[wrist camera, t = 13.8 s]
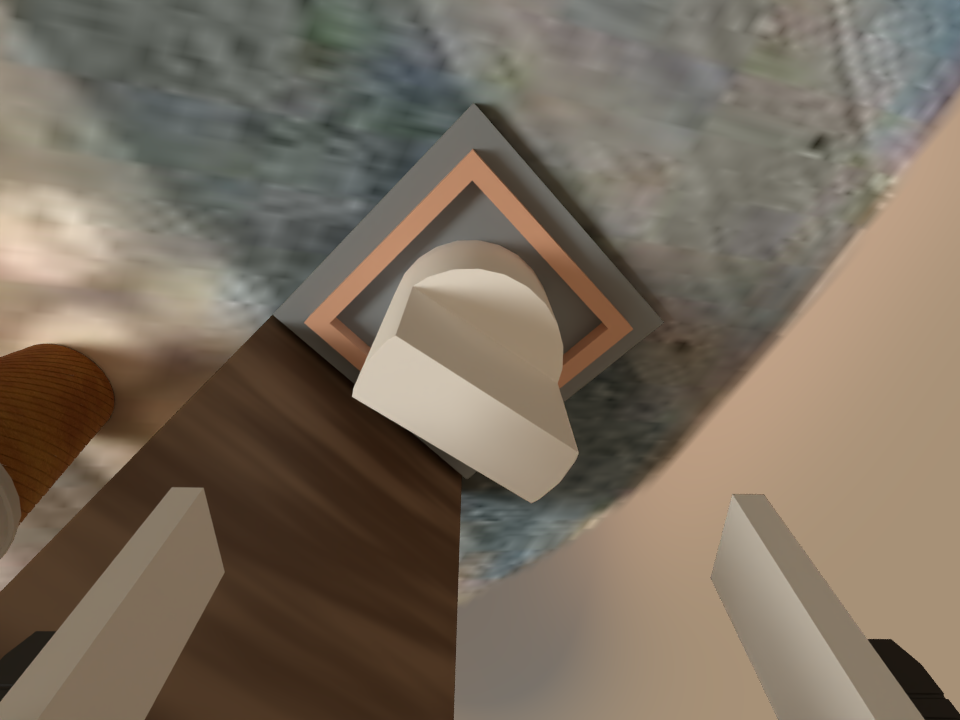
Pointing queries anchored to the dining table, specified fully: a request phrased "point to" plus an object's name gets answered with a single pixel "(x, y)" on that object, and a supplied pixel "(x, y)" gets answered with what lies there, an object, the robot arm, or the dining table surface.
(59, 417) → the disposable coffee cup
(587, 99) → the dining table surface
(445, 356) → the cylinder with rectangular tab
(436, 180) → the square coaster tray
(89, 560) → the brown wooden panel
